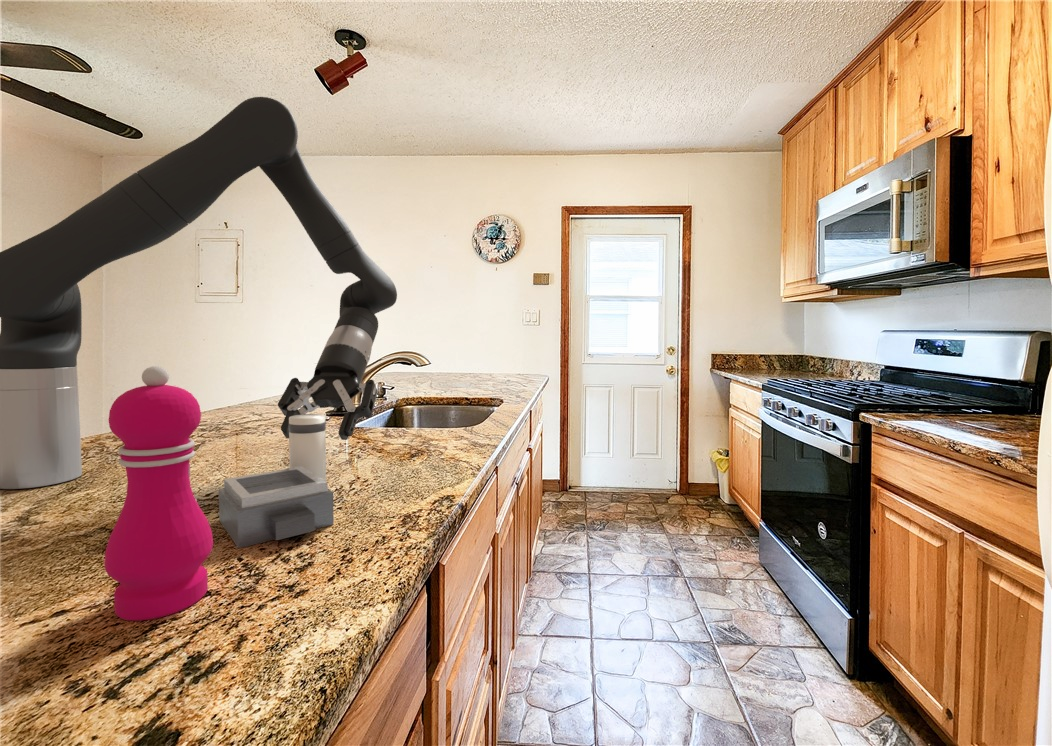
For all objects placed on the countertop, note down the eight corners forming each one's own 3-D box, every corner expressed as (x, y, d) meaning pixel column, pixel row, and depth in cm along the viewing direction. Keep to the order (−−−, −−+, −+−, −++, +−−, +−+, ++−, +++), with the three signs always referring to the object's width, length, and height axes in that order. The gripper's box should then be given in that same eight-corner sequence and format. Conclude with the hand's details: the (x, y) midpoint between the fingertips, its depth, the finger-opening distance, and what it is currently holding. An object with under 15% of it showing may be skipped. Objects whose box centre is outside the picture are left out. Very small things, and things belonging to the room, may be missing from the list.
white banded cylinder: (285, 489, 69) (284, 416, 68) (319, 483, 72) (318, 412, 72) (296, 498, 65) (294, 420, 65) (331, 491, 69) (330, 417, 68)
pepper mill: (233, 587, 42) (228, 365, 41) (146, 634, 35) (135, 370, 34) (177, 572, 45) (170, 362, 43) (85, 614, 38) (73, 366, 36)
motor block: (219, 520, 57) (218, 478, 57) (305, 502, 64) (305, 465, 64) (244, 556, 48) (242, 506, 48) (341, 530, 55) (340, 487, 55)
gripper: (296, 341, 78) (257, 421, 68) (381, 343, 78) (354, 423, 67) (312, 371, 84) (278, 448, 74) (391, 372, 84) (368, 450, 73)
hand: (314, 436), depth 70 cm, fingers open, 8 cm apart
